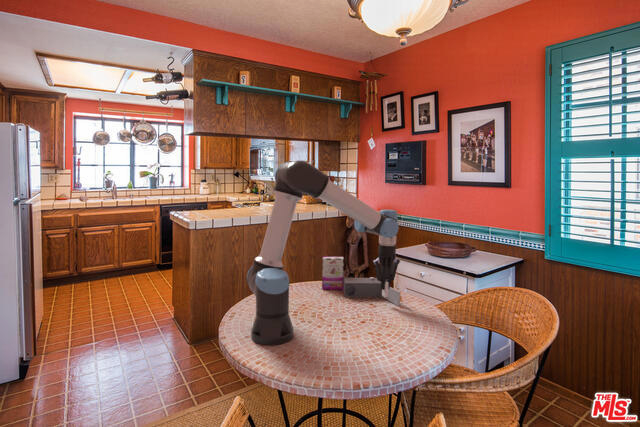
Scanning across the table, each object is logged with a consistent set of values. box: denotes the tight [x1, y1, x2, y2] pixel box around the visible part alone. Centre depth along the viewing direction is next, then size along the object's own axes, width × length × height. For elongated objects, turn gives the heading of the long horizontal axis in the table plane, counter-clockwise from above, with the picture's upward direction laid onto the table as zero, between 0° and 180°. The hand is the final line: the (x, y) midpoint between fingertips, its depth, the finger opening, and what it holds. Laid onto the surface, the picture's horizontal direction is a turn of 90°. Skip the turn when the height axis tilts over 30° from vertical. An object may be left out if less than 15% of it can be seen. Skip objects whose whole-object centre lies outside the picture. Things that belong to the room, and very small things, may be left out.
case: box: [342, 276, 382, 298], centre depth 175 cm, size 18×11×8 cm, turn 91°
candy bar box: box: [321, 256, 345, 291], centre depth 184 cm, size 11×5×16 cm, turn 88°
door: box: [381, 286, 403, 307], centre depth 166 cm, size 13×2×7 cm, turn 24°
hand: (384, 296), depth 161 cm, fingers closed
